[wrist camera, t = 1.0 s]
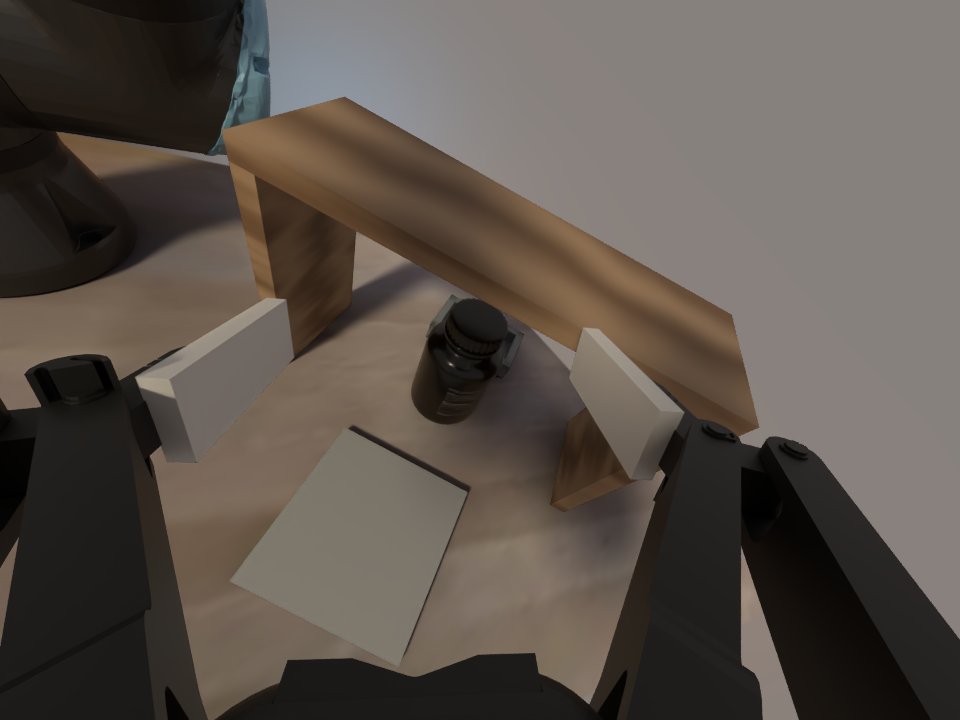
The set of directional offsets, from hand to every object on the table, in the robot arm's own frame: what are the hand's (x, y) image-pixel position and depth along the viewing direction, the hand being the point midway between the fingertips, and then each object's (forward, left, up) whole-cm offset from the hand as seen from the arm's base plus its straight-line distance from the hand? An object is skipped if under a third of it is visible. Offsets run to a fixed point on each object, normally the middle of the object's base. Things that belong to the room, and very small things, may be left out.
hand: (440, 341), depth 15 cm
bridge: (-4, +8, -18) cm, 20 cm away
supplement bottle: (-4, +8, -18) cm, 21 cm away
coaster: (+3, -4, -18) cm, 19 cm away
